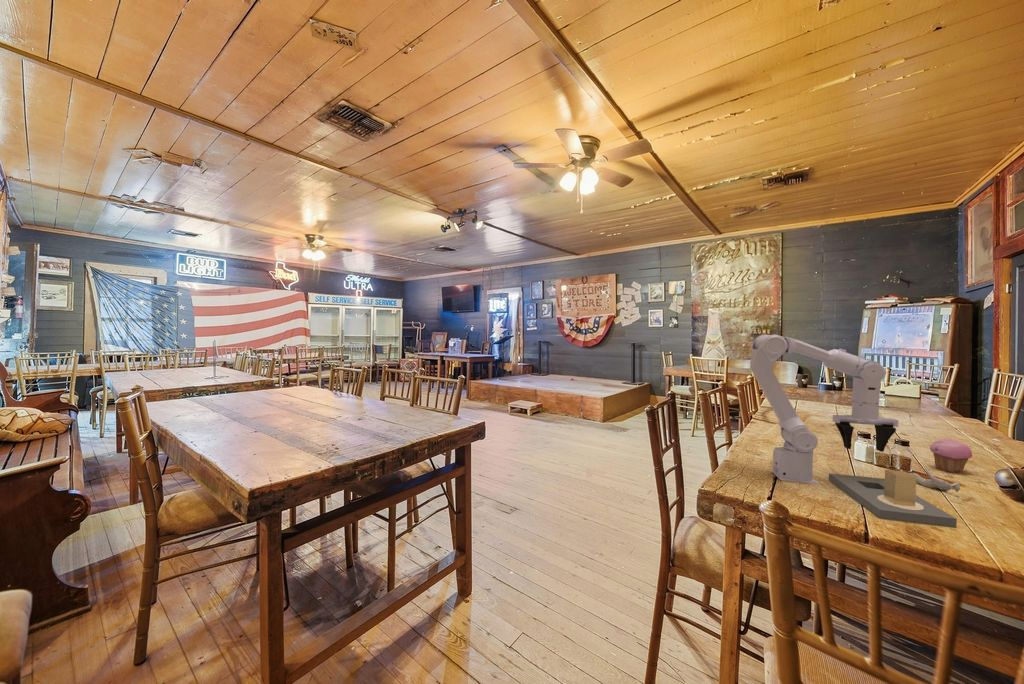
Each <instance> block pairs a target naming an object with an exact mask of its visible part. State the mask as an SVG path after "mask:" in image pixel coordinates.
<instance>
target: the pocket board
mask: <svg viewBox="0 0 1024 684" xmlns="http://www.w3.org/2000/svg"><path fill="white" fill-rule="evenodd" d="M828 481H829V482H830V483H832V484H833V485H835V486H836V487H837V488H839V489H840V490H841V491H843V492H844V493H845V494H847V495H848V496H849V497H851V499H853V500H854V501H856V502H857V503H858V504H860V505H861V506H862V507H864V508H865V510H868V511H869V512H870V513H872V514H873V515H874V516H876V517H877V518H878V519H879V520H881V519H882V520H889V521H898V522H904V523H905V522H906V523H914V524H923V525H930V526H941V527H947V528H955V529H956V528H957V522H958V521H957V520H958V518H956V517H954V516H953V515H951V514H949V513H947V512H946V511H944V510H943V509H942V508H939V507H937V506H936V505H934V504H932V503H930V502H928V501H926V500H925V499H924V498H922V497H920V496H919V495H916V498H915V506H907V505H898V504H893V503H892V502H890V501H889V500H887V499H886V498H884V481H885V478H881V477H880V478H879V477H870V476H860V475H850V474H849V475H848V474H840V473H828Z"/></svg>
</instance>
